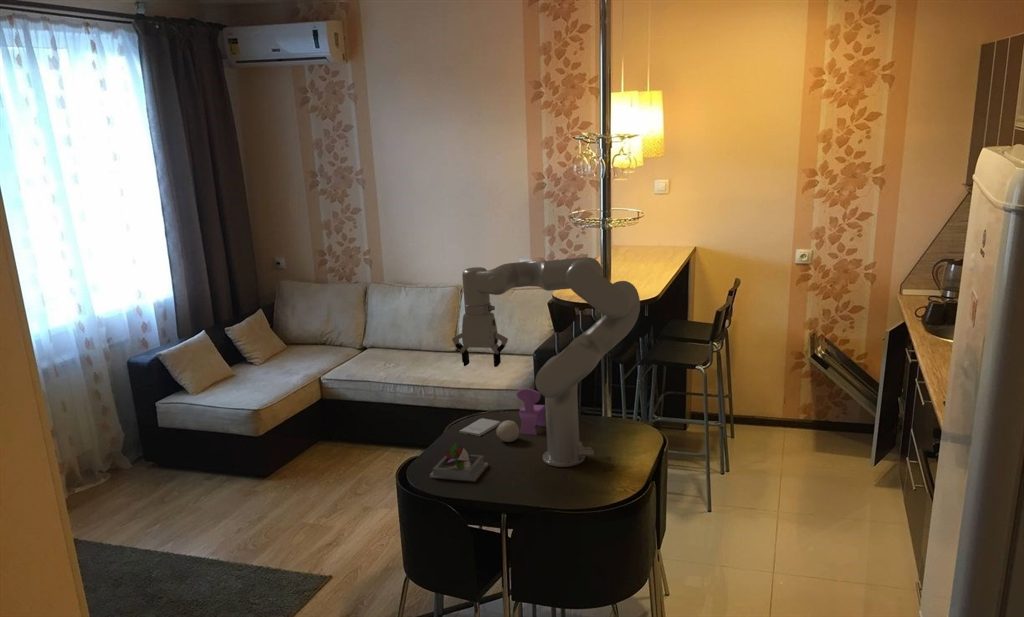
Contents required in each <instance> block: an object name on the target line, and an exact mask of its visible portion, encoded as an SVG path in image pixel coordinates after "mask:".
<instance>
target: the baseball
mask: <svg viewBox="0 0 1024 617" xmlns="http://www.w3.org/2000/svg"><path fill="white" fill-rule="evenodd" d="M519 431H520V427H519V425H518V424H517V423H516V422H515V421H514V420H509V419H508V420H507V419H506V420H504V421H502V422H500V425H498V426H497V427H496V436H497V437H499V439H500V440H501V441H503V442H506V443H512V442H514V441H515V440H517V439H518V438H519V435H520V433H519Z"/></svg>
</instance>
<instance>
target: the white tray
mask: <svg viewBox="0 0 1024 617" xmlns="http://www.w3.org/2000/svg"><path fill="white" fill-rule="evenodd" d="M445 456H446V454H445ZM445 456H444V457H442V458H441V459H440V461H438V462H437V464H436V465H435V466H434V467H432V471H431V472H430V473H429V479H440V480H451V481H452V480H453V481H454V480H455V481H462V482H464V481H465V482H476V481H477V480H478V479H479V477H480V476H481V475H482V474H483V473H484V471H485V470H486V469H487V468H488V466H489V463H488V462H486V461H485V456H484V455H480V454H470V455H469V461H466V462H464V464H465V465H464V466H463V467H462V468H460V469H458V468H457V466H454V465H453V466H452V467H451V466H450V463H447V462H448V459H447V457H445ZM446 461H447V462H446ZM448 464H449V465H448ZM453 467H454V468H453ZM455 468H456V469H455Z"/></svg>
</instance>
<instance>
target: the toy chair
mask: <svg viewBox="0 0 1024 617" xmlns="http://www.w3.org/2000/svg"><path fill="white" fill-rule="evenodd" d="M516 397H517V398H518V399H519V400H520V401H521V402H523V407H522V408H520V409H519V417H520V422H521V425H520V428H519V434H522V433H523V434H524V435H532V434H533V435H534V436H537V435H538V433H537V430H536V429H537V428H536V425H538V427H546V420H545V413H546V412H545V404H536V403H538V402H539V401H540V400H541V394H540V393H539V391H538V390H535V389H533V388H526V387H524V388H519V389H518V390H517V391H516ZM533 435H532V436H533Z"/></svg>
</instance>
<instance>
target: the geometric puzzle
mask: <svg viewBox="0 0 1024 617" xmlns="http://www.w3.org/2000/svg"><path fill="white" fill-rule="evenodd" d="M444 454H445V455H446V456H444V457H447V459H448V462H447V461H446V462H447V463H450V466H451V467H452V466H453V465H454V466H457V468H458V469H460V468H462V467H463V466H464V465H465V464H464V462H466V461H470V458H469V456H470V455H469V450H467V449H466V448H465V447H463V446H460V445H459V447H458V444H457V443H455V444H454V445H452V446H451V447H450V448H448V451H447V452H444ZM448 465H449V464H448ZM453 468H454V467H453ZM455 469H456V468H455Z"/></svg>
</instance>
